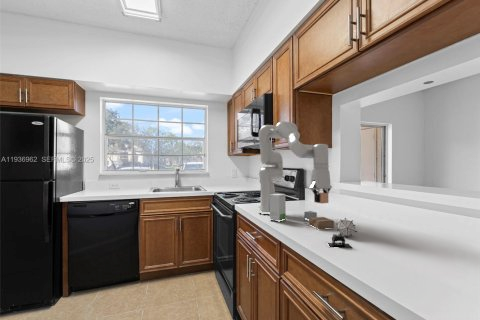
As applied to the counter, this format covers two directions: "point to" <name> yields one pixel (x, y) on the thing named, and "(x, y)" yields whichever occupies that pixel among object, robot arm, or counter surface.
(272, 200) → the skincare box
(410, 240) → the counter surface
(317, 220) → the walnut block
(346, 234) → the grey spiked ball
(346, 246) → the black bracket block
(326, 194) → the terracotta cube
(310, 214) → the slate grey cube
